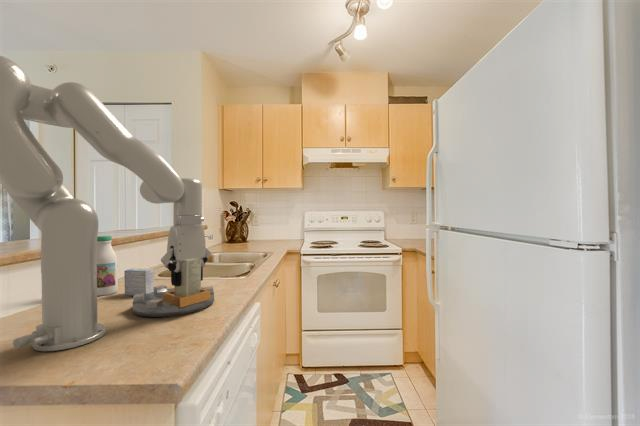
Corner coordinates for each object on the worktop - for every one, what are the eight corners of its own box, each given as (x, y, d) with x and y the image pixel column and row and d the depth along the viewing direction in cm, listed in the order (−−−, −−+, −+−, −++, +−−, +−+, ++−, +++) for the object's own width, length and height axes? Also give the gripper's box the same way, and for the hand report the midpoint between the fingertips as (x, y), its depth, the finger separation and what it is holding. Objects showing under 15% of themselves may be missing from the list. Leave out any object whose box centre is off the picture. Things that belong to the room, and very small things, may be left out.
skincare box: (189, 296, 90) (189, 256, 90) (201, 297, 89) (202, 256, 89) (173, 302, 84) (173, 259, 84) (186, 303, 83) (186, 259, 83)
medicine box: (154, 292, 105) (154, 267, 105) (146, 296, 100) (145, 270, 100) (133, 292, 105) (133, 267, 105) (124, 295, 101) (123, 270, 101)
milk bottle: (96, 291, 107) (95, 235, 106) (121, 289, 109) (120, 234, 109) (86, 297, 99) (85, 237, 99) (113, 295, 102) (112, 236, 101)
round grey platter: (229, 301, 93) (228, 286, 93) (155, 323, 75) (155, 304, 75) (189, 290, 106) (189, 276, 106) (119, 306, 88) (119, 290, 88)
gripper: (203, 220, 96) (203, 276, 96) (150, 221, 81) (150, 287, 81) (220, 221, 93) (219, 278, 93) (168, 222, 77) (168, 291, 77)
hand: (187, 282), depth 87 cm, fingers closed on skincare box, 6 cm apart
